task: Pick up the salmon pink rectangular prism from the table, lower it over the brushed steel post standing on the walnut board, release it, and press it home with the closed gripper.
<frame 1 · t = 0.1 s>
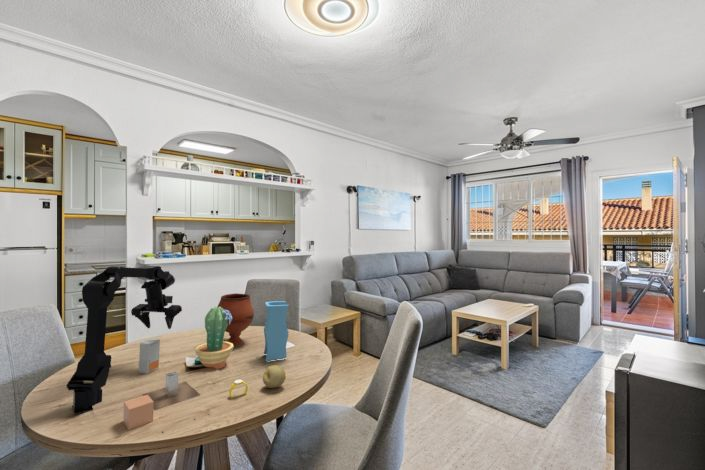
hand: (159, 328, 136), 15 cm above the table, tool pointing down, fingers open, 9 cm apart
board: (171, 397, 108), on the table
skincare box: (149, 371, 130), on the table
brown clay urn: (234, 344, 164), on the table
potted cactus: (214, 365, 136), on the table
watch: (238, 398, 109), on the table
salmon pink rectangular prism: (138, 424, 93), on the table
vase: (275, 357, 147), on the table
fruit: (273, 388, 117), on the table
post: (171, 394, 108), resting on board
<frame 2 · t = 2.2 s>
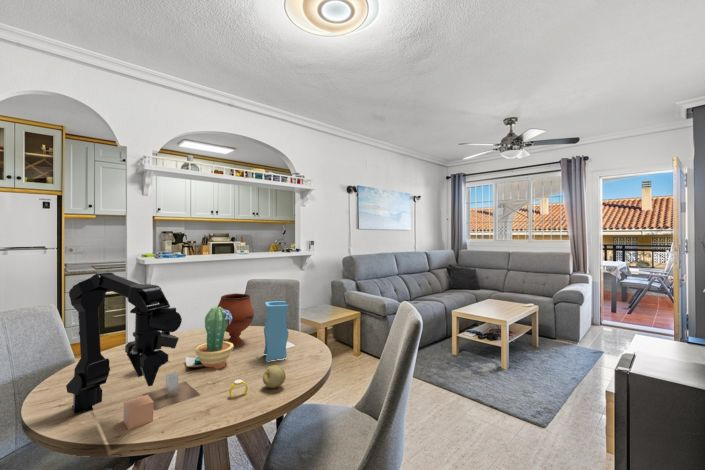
hand: (145, 381, 94), 12 cm above the table, tool pointing down, fingers open, 9 cm apart
nothing on the table moved.
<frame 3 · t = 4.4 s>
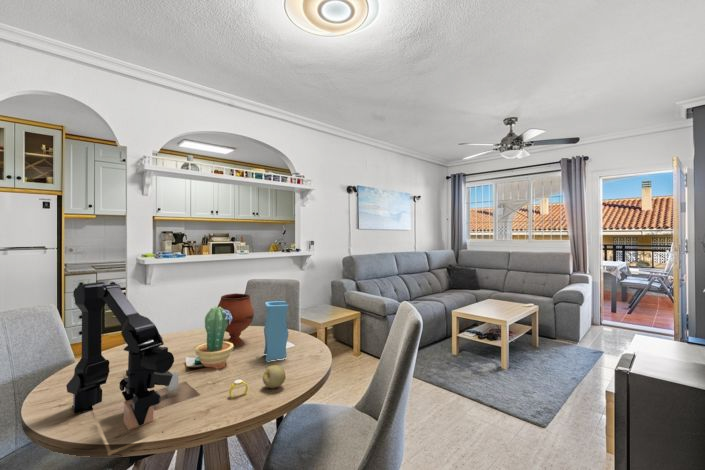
hand: (138, 420, 93), 1 cm above the table, tool pointing down, fingers closed on salmon pink rectangular prism, 6 cm apart
salmon pink rectangular prism: (138, 424, 93), on the table, touching gripper
everything else where it was.
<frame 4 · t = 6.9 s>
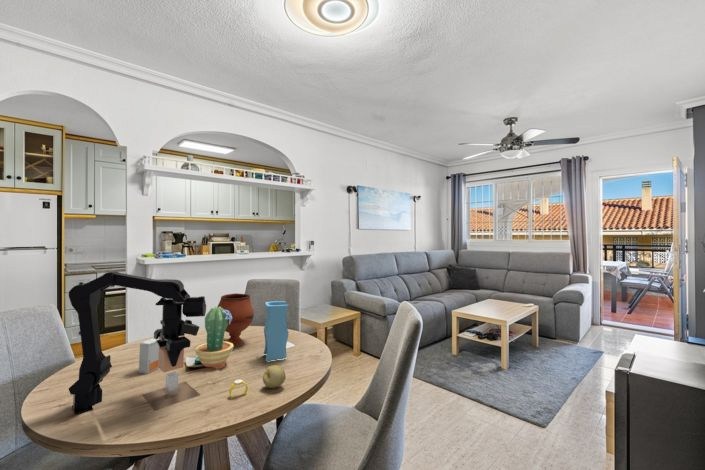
hand: (170, 363, 107), 12 cm above the table, tool pointing down, fingers closed on salmon pink rectangular prism, 6 cm apart
salmon pink rectangular prism: (170, 367, 107), point 11 cm above the table, touching gripper
everything else where it was.
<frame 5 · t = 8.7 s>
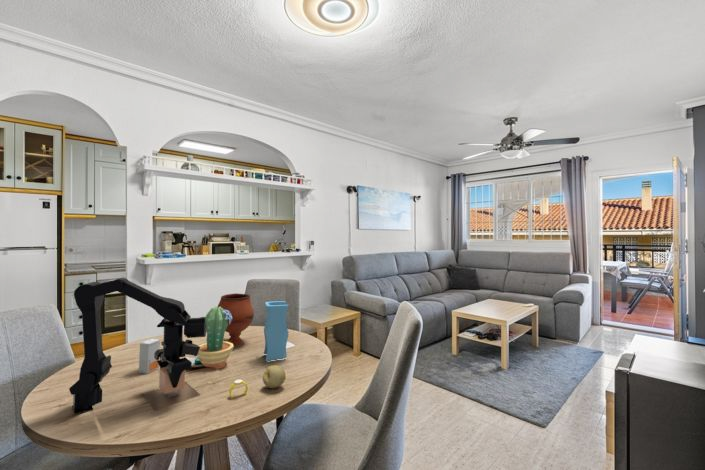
hand: (171, 384, 108), 5 cm above the table, tool pointing down, fingers closed on salmon pink rectangular prism, 6 cm apart
salmon pink rectangular prism: (171, 387, 108), point 3 cm above the table, touching gripper
everything else where it was.
when the fingers open (4 cm above the table, at t = 9.8 s): salmon pink rectangular prism stays where it is, resting on post.
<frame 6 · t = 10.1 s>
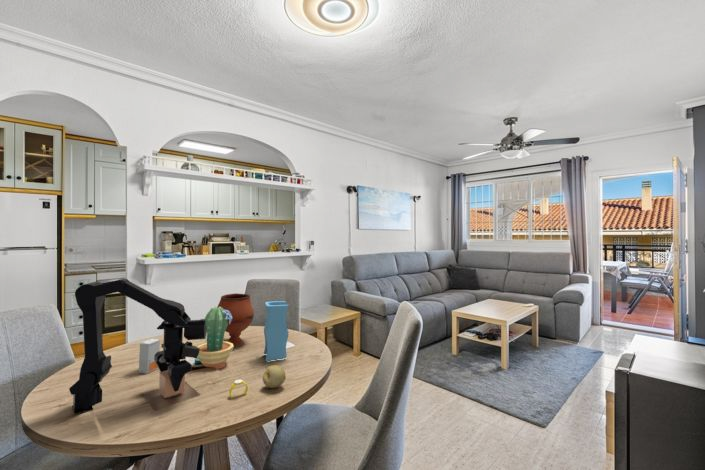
hand: (171, 386, 108), 4 cm above the table, tool pointing down, fingers open, 9 cm apart
salmon pink rectangular prism: (171, 391, 108), point 2 cm above the table, touching post
everything else where it was.
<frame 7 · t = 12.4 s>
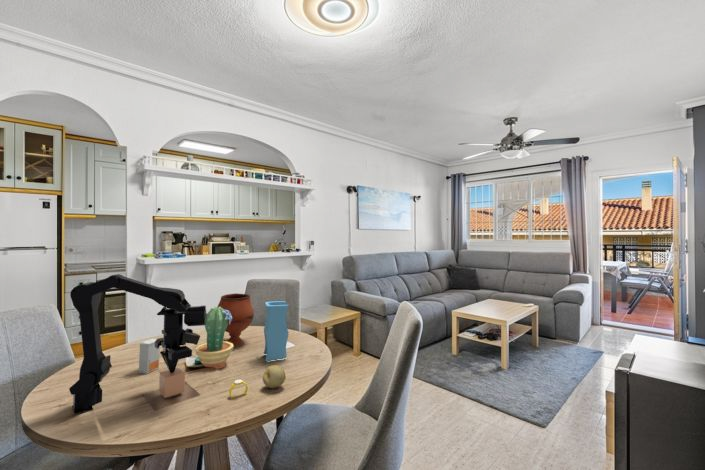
hand: (172, 372, 108), 9 cm above the table, tool pointing down, fingers closed, pressing on salmon pink rectangular prism
salmon pink rectangular prism: (171, 391, 108), point 2 cm above the table, touching gripper, post
everything else where it was.
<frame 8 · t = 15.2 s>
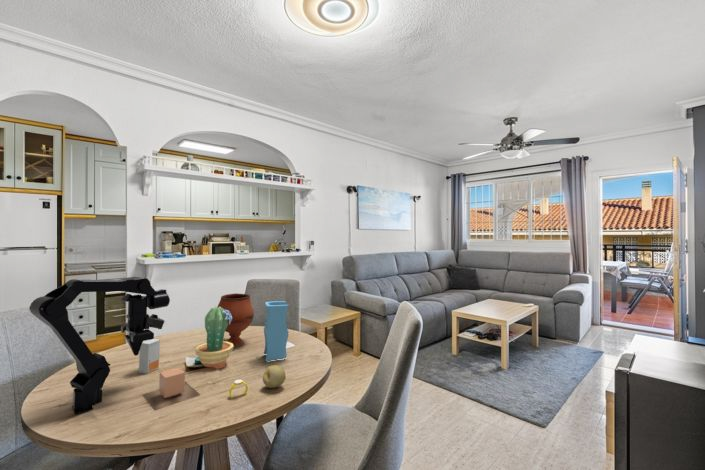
hand: (136, 355, 114), 12 cm above the table, tool pointing down, fingers closed
salmon pink rectangular prism: (171, 391, 108), point 2 cm above the table, touching post
everything else where it was.
at the end: salmon pink rectangular prism 0.0 cm from the post (horizontally); salmon pink rectangular prism 0.0 cm off-centre on the post, point 1.0 cm above the post's base; salmon pink rectangular prism tilted 0° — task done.
